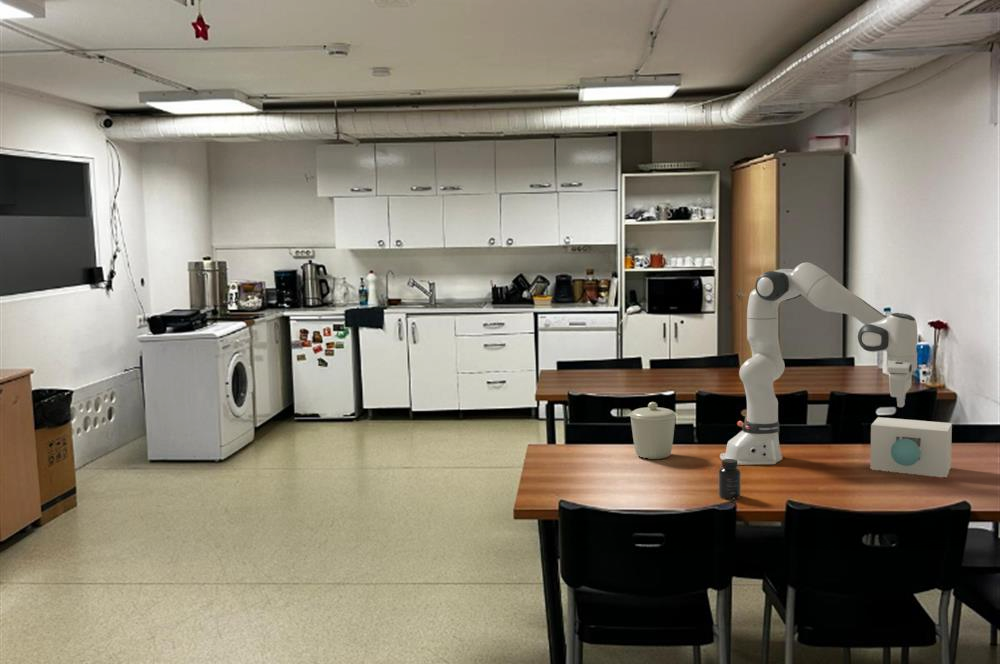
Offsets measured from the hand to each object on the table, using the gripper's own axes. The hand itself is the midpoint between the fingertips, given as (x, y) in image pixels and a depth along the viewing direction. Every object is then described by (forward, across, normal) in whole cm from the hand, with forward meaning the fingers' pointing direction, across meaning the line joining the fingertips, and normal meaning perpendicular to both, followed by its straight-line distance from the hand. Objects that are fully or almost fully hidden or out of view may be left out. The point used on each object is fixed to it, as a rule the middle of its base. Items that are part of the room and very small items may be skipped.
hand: (900, 406), depth 284 cm
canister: (+27, -4, -87) cm, 91 cm away
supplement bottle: (+27, +33, -46) cm, 63 cm away
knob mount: (+27, -26, 0) cm, 38 cm away
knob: (+23, -19, 0) cm, 30 cm away
